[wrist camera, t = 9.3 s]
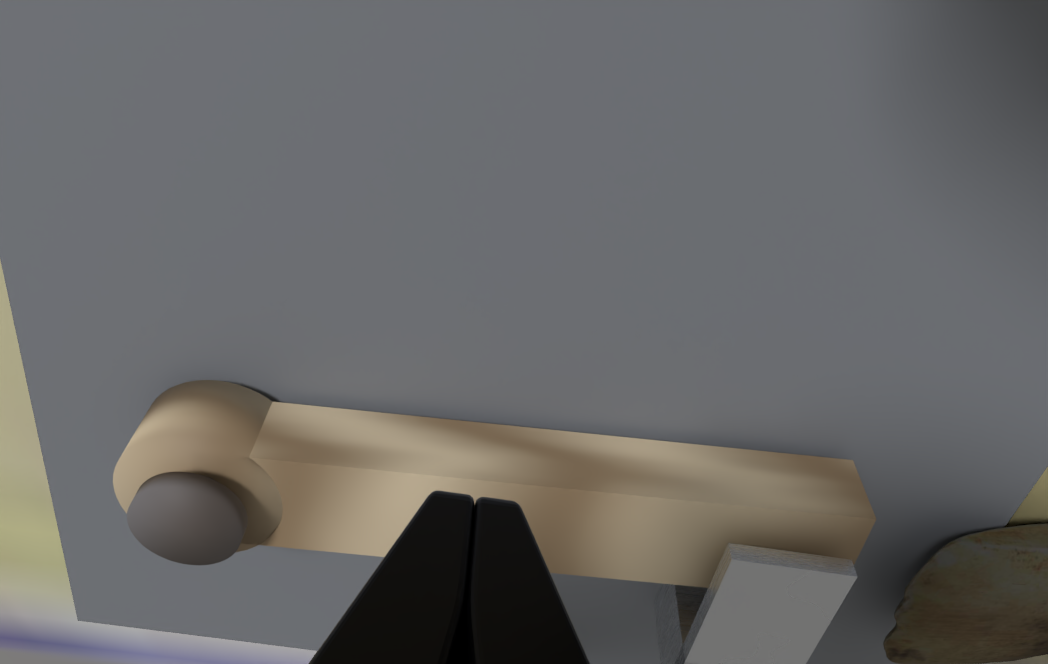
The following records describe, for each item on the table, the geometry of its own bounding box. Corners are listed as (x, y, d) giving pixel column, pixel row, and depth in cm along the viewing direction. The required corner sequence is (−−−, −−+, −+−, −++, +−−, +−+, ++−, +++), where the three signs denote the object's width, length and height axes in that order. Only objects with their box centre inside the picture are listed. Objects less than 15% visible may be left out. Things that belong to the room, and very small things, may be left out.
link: (158, 485, 24) (111, 576, 21) (136, 369, 21) (80, 456, 19) (811, 548, 24) (840, 644, 22) (858, 442, 22) (896, 536, 19)
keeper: (711, 459, 23) (732, 559, 20) (822, 475, 23) (857, 576, 20) (654, 603, 26) (665, 705, 23) (751, 616, 26) (772, 718, 24)
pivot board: (-99, -388, 14) (-140, -395, 13) (1388, -91, 16) (1433, -80, 15) (92, 594, 28) (78, 620, 27) (859, 692, 30) (867, 720, 29)
